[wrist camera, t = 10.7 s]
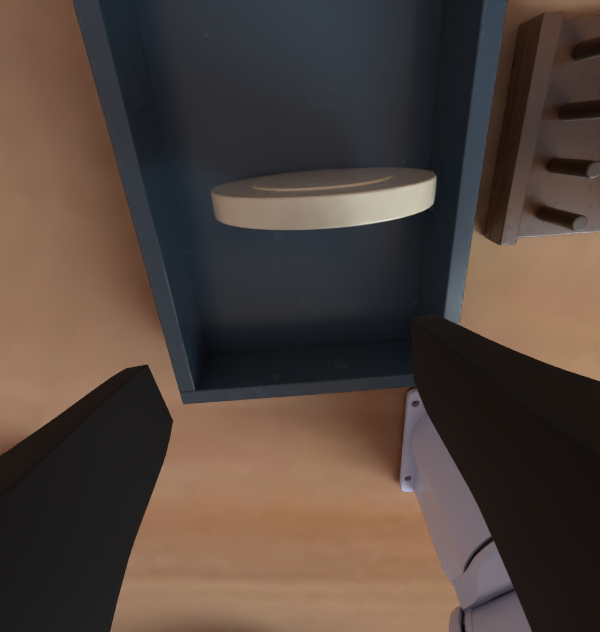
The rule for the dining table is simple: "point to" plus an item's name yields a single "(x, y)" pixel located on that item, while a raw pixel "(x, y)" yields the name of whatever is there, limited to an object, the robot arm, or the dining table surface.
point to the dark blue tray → (294, 156)
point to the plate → (324, 198)
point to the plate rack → (550, 133)
